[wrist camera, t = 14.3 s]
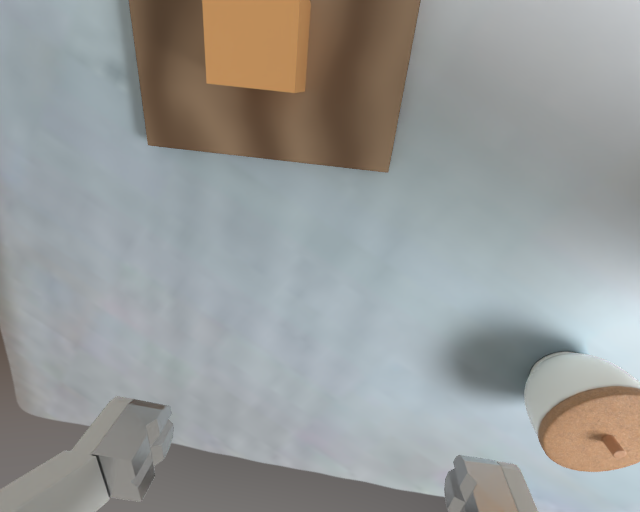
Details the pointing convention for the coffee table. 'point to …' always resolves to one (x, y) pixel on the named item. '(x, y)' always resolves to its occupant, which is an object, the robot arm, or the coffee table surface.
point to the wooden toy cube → (257, 43)
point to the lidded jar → (584, 411)
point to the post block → (274, 106)
